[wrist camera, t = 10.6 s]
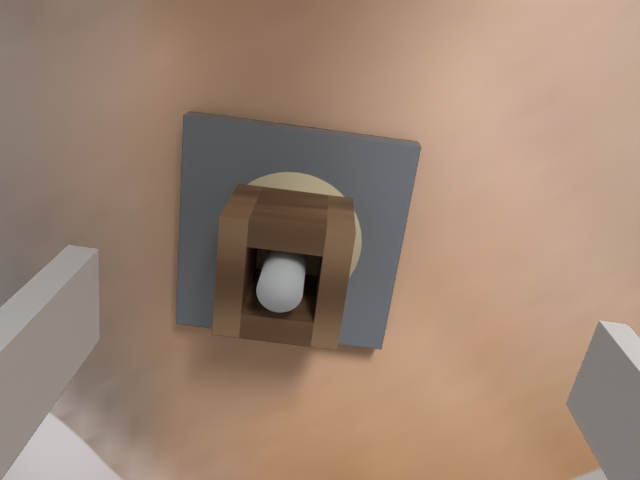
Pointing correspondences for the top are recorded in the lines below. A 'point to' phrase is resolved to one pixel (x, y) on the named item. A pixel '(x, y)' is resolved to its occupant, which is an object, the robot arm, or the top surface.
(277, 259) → the post block
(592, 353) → the robot arm
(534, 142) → the top surface
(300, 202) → the collar
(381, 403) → the top surface
